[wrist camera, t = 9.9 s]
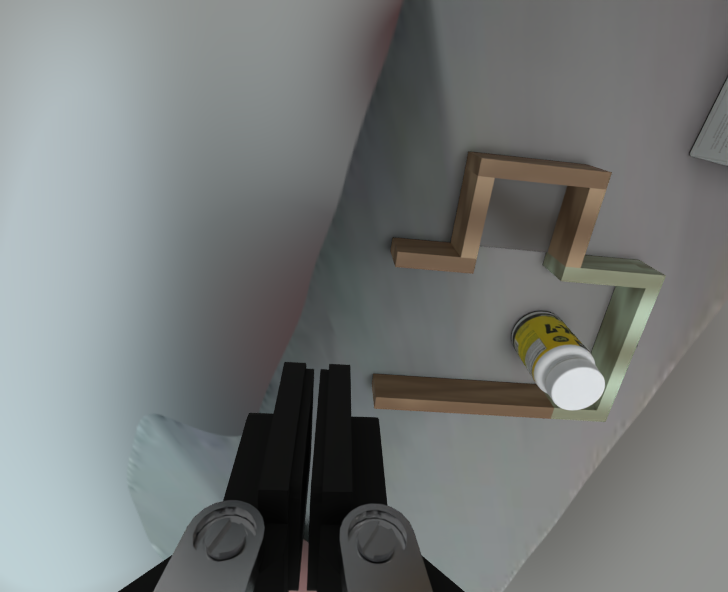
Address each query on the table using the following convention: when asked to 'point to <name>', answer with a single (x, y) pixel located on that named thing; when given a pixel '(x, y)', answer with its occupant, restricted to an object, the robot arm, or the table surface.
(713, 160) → the small box
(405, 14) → the table surface
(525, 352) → the supplement bottle
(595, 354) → the zigzag wooden rail
